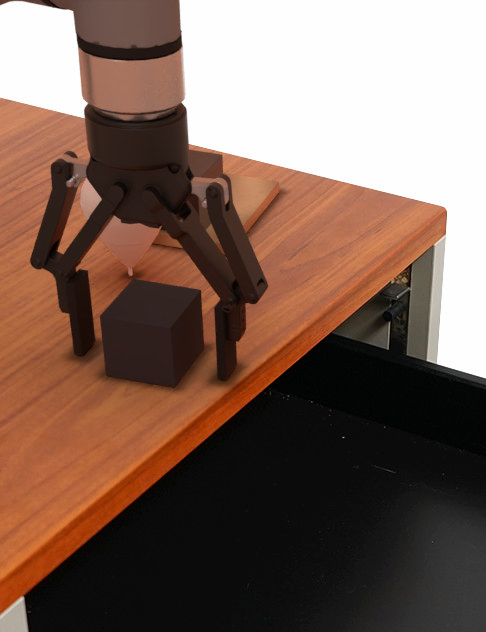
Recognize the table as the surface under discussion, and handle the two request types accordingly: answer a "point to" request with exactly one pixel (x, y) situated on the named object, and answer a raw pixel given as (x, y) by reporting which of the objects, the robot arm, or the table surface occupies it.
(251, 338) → the table surface
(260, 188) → the board
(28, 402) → the table surface
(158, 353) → the black cube
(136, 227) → the spinning top
